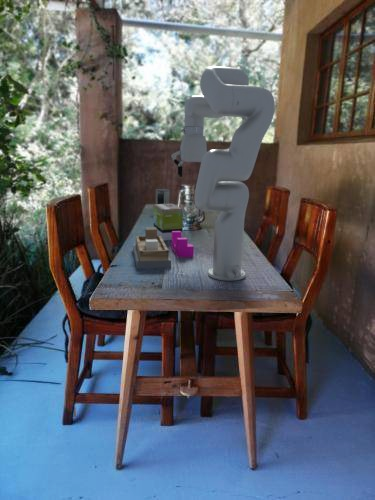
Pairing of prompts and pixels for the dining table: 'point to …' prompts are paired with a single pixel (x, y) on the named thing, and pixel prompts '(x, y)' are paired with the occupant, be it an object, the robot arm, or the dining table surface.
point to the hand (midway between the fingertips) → (192, 176)
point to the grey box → (151, 244)
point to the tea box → (167, 219)
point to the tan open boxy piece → (151, 254)
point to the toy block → (181, 245)
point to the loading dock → (149, 262)
